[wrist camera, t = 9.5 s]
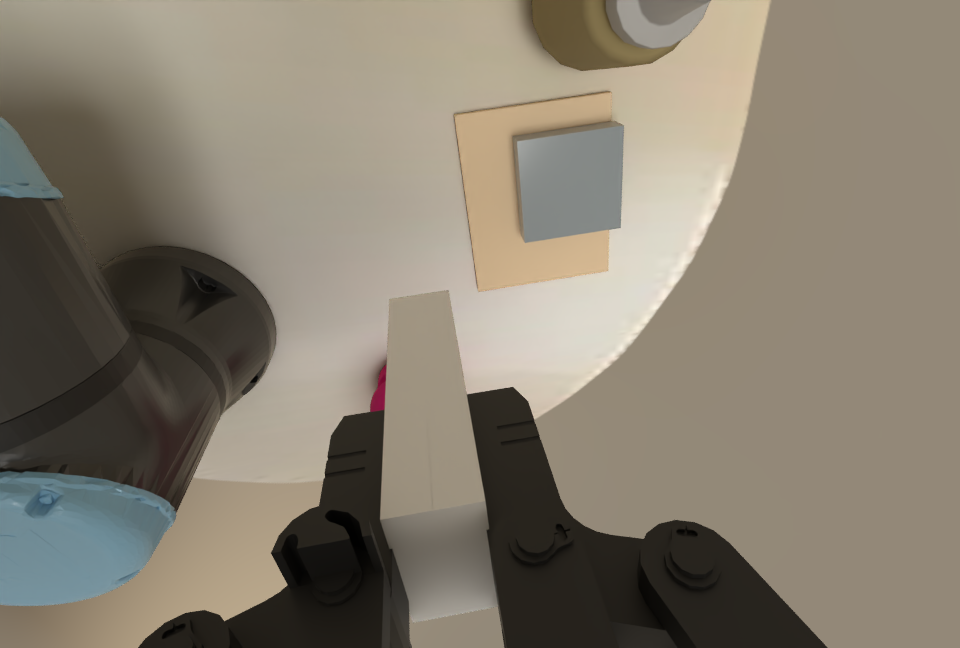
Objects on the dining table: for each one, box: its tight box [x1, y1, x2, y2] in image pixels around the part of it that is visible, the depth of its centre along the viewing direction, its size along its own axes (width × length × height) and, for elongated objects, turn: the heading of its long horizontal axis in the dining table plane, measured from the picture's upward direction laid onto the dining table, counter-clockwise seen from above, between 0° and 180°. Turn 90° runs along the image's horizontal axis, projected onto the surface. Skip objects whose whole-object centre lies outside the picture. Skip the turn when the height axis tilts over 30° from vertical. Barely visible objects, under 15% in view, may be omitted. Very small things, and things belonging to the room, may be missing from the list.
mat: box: [454, 92, 612, 292], centre depth 42 cm, size 12×15×1 cm
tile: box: [512, 121, 624, 243], centre depth 40 cm, size 2×8×8 cm
